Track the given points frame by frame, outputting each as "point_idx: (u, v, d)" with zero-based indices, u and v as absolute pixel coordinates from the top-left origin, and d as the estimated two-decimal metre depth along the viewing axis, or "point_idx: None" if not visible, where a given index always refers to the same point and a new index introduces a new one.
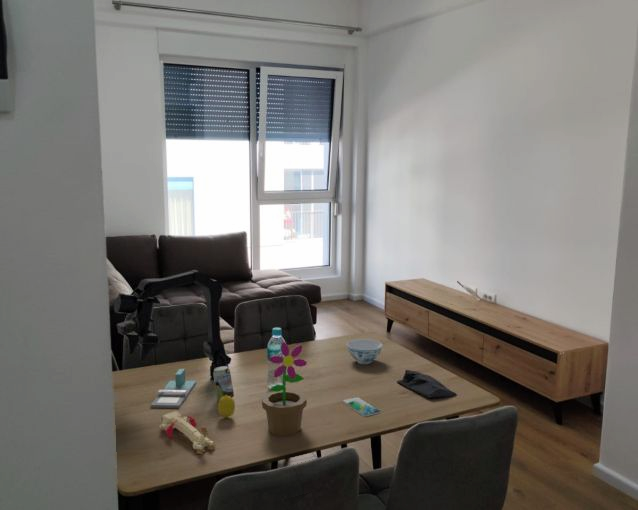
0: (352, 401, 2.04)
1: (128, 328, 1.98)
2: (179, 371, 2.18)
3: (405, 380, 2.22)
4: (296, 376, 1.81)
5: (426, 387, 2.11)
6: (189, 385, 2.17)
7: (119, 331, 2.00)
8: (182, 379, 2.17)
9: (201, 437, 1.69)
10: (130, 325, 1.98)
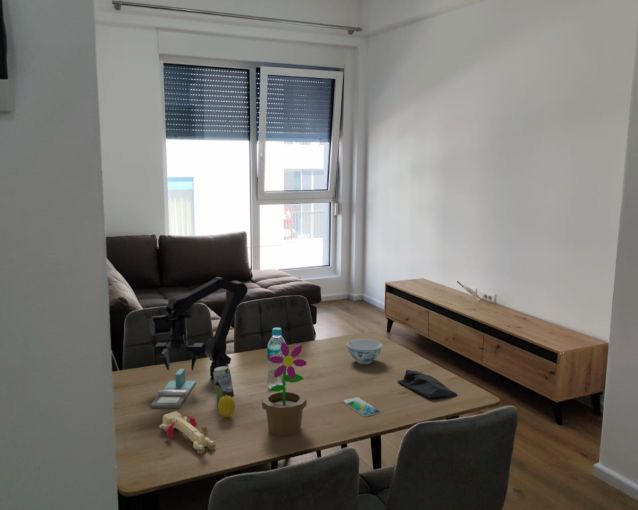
0: (352, 401, 2.04)
1: (185, 347, 2.09)
2: (179, 371, 2.18)
3: (406, 380, 2.22)
4: (296, 376, 1.81)
5: (426, 387, 2.11)
6: (189, 385, 2.17)
7: (172, 353, 2.08)
8: (182, 379, 2.17)
9: (201, 436, 1.69)
10: (185, 344, 2.09)
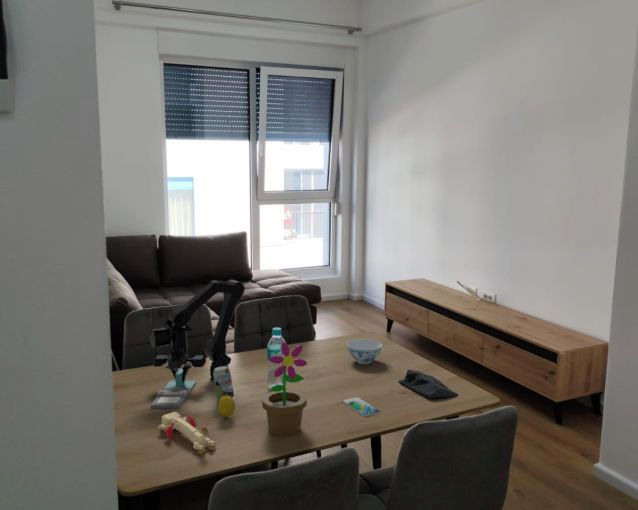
0: (352, 401, 2.04)
1: (185, 360, 2.10)
2: (179, 371, 2.18)
3: (407, 380, 2.22)
4: (296, 376, 1.81)
5: (427, 387, 2.11)
6: (189, 385, 2.17)
7: (173, 366, 2.09)
8: (182, 379, 2.17)
9: (201, 437, 1.69)
10: (186, 357, 2.10)
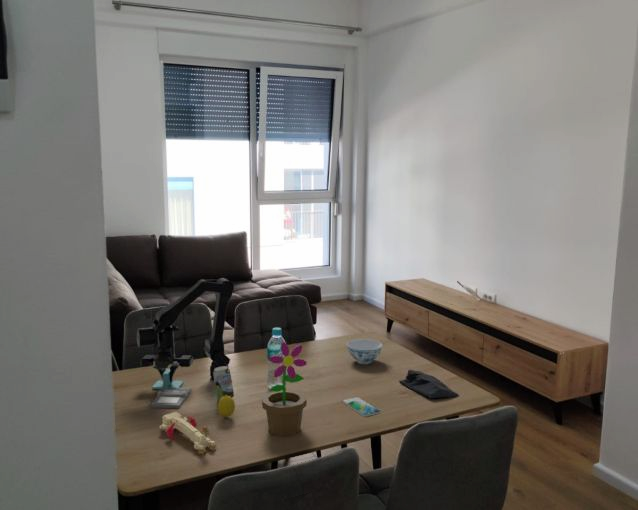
0: (352, 401, 2.04)
1: (172, 360, 2.10)
2: (166, 371, 2.18)
3: (407, 380, 2.22)
4: (296, 376, 1.81)
5: (428, 387, 2.11)
6: (177, 385, 2.17)
7: (160, 366, 2.09)
8: (169, 379, 2.17)
9: (202, 437, 1.69)
10: (172, 356, 2.10)
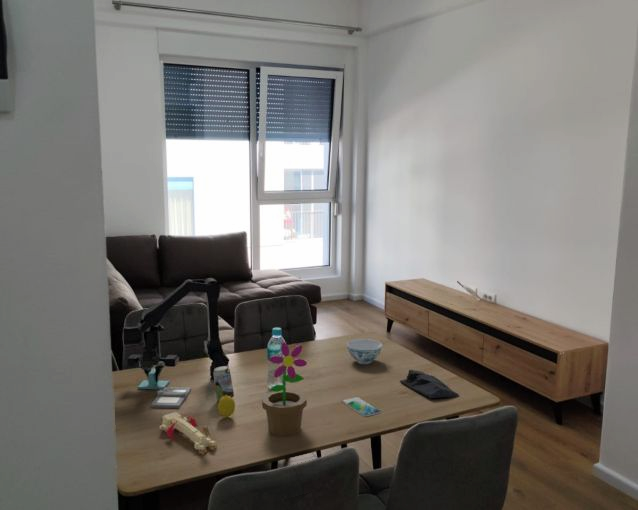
0: (352, 401, 2.04)
1: (157, 359, 2.10)
2: (152, 371, 2.18)
3: (408, 380, 2.22)
4: (296, 376, 1.81)
5: (428, 387, 2.11)
6: (162, 384, 2.18)
7: (145, 366, 2.09)
8: (155, 379, 2.18)
9: (202, 437, 1.69)
10: (158, 356, 2.10)
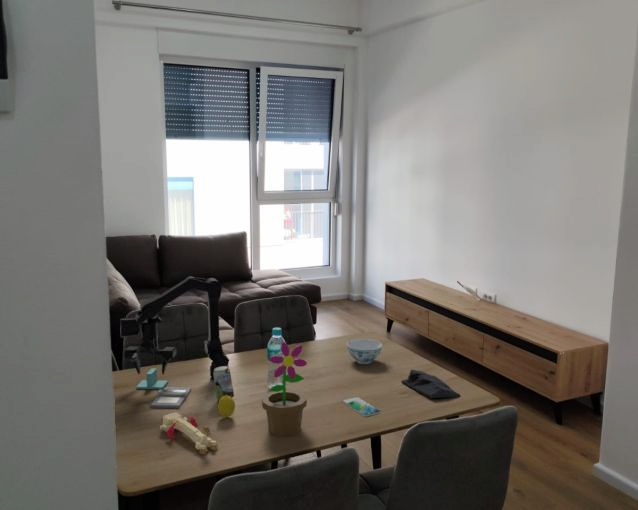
0: (352, 401, 2.04)
1: (155, 351, 2.09)
2: (151, 371, 2.18)
3: (410, 380, 2.22)
4: (296, 376, 1.81)
5: (429, 387, 2.11)
6: (161, 384, 2.18)
7: (142, 357, 2.09)
8: (154, 379, 2.18)
9: (203, 437, 1.69)
10: (155, 348, 2.10)
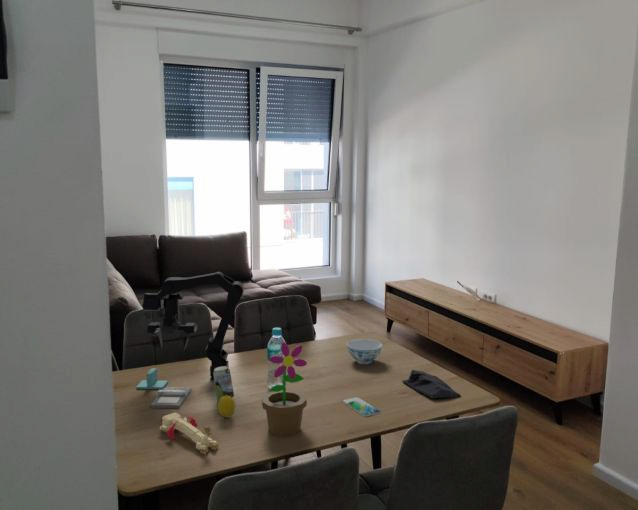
0: (352, 401, 2.04)
1: (177, 326, 2.16)
2: (151, 371, 2.18)
3: (410, 380, 2.22)
4: (296, 376, 1.81)
5: (430, 388, 2.11)
6: (161, 384, 2.18)
7: (165, 332, 2.16)
8: (154, 379, 2.18)
9: (204, 437, 1.69)
10: (177, 322, 2.17)
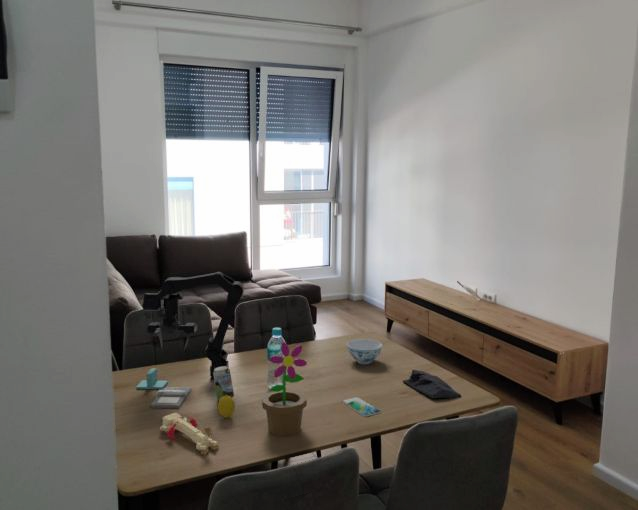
0: (352, 401, 2.04)
1: (177, 326, 2.16)
2: (151, 371, 2.18)
3: (411, 380, 2.22)
4: (296, 376, 1.81)
5: (430, 387, 2.11)
6: (161, 384, 2.18)
7: (165, 332, 2.16)
8: (154, 379, 2.18)
9: (204, 437, 1.69)
10: (177, 322, 2.17)
